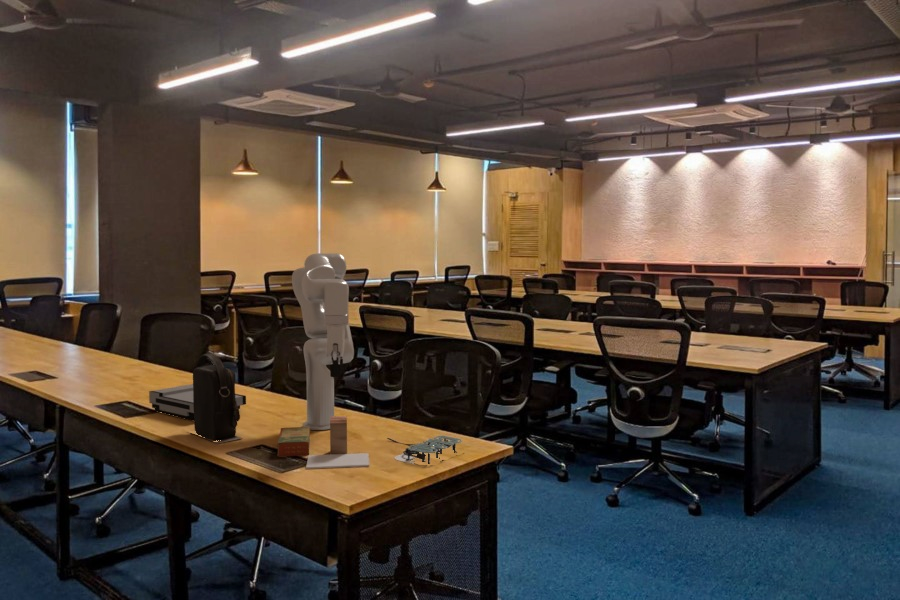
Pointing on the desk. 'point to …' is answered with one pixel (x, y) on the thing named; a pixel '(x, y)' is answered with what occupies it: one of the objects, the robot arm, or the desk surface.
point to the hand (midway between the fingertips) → (336, 373)
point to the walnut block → (338, 435)
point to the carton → (294, 441)
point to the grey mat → (337, 461)
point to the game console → (179, 401)
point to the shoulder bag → (214, 400)
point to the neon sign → (426, 448)
